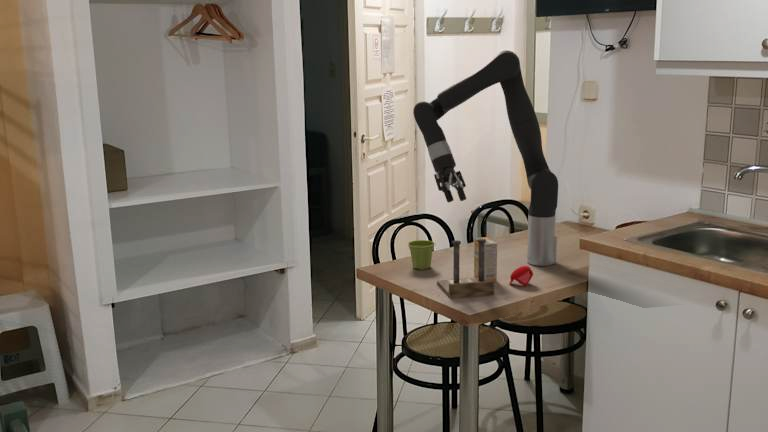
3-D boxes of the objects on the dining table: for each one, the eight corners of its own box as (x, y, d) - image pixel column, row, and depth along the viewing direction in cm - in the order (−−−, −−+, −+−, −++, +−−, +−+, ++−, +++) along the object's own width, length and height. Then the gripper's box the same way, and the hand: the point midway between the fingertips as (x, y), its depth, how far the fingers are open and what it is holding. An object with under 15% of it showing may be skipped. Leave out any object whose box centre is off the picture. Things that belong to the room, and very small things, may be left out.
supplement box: (473, 275, 252) (473, 237, 249) (486, 274, 253) (486, 236, 251) (483, 282, 244) (484, 243, 241) (497, 281, 246) (497, 242, 243)
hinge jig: (478, 280, 246) (478, 230, 243) (494, 294, 232) (494, 241, 228) (436, 284, 244) (436, 233, 240) (450, 298, 229) (450, 245, 226)
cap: (533, 271, 245) (517, 261, 245) (537, 270, 239) (520, 260, 239) (520, 292, 244) (505, 282, 244) (524, 292, 238) (507, 281, 238)
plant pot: (410, 272, 257) (410, 247, 256) (405, 264, 267) (405, 240, 265) (437, 270, 259) (437, 245, 257) (431, 263, 268) (431, 239, 266)
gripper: (439, 152, 250) (455, 198, 248) (460, 152, 262) (476, 195, 260) (421, 161, 255) (437, 206, 252) (443, 160, 266) (459, 203, 264)
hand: (457, 200), depth 256 cm, fingers open, 8 cm apart
